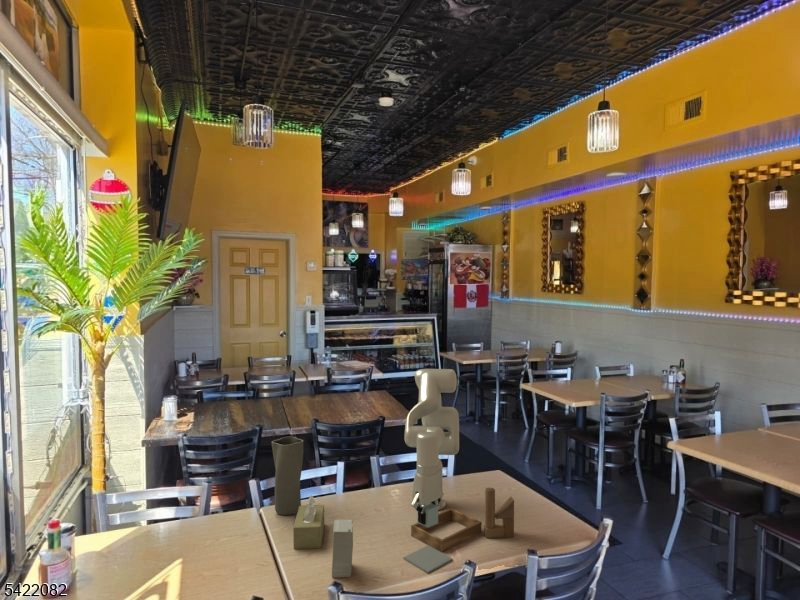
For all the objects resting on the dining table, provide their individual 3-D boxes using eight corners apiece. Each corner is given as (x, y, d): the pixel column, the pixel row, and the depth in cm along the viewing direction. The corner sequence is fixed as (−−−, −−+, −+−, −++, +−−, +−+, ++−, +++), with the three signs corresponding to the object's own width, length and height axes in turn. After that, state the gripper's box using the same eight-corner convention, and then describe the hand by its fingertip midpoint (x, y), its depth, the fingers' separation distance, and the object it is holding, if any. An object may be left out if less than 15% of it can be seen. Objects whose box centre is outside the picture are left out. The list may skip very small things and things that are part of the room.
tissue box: (320, 548, 184) (320, 505, 184) (293, 550, 183) (292, 506, 183) (324, 524, 203) (323, 485, 202) (299, 525, 202) (299, 486, 202)
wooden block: (514, 536, 192) (514, 489, 191) (486, 538, 191) (486, 491, 190) (511, 532, 195) (511, 486, 195) (483, 533, 194) (483, 487, 194)
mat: (403, 558, 177) (403, 557, 177) (427, 546, 185) (427, 545, 185) (427, 573, 168) (427, 571, 168) (452, 560, 176) (452, 558, 176)
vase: (309, 511, 214) (308, 441, 213) (282, 520, 206) (281, 447, 205) (294, 502, 223) (294, 434, 222) (268, 510, 215) (267, 440, 214)
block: (417, 522, 176) (417, 505, 176) (427, 518, 179) (427, 501, 179) (427, 527, 172) (427, 510, 172) (438, 523, 175) (438, 506, 175)
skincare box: (332, 564, 173) (332, 519, 173) (353, 563, 174) (353, 518, 173) (331, 579, 165) (330, 531, 164) (353, 577, 166) (353, 530, 165)
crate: (411, 535, 193) (411, 525, 193) (450, 517, 207) (450, 508, 207) (441, 552, 181) (441, 541, 181) (481, 532, 196) (481, 521, 195)
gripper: (437, 460, 184) (437, 509, 184) (401, 471, 172) (402, 524, 173) (452, 465, 178) (452, 516, 179) (417, 478, 167) (417, 532, 167)
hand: (427, 520), depth 176 cm, fingers closed on block, 5 cm apart
